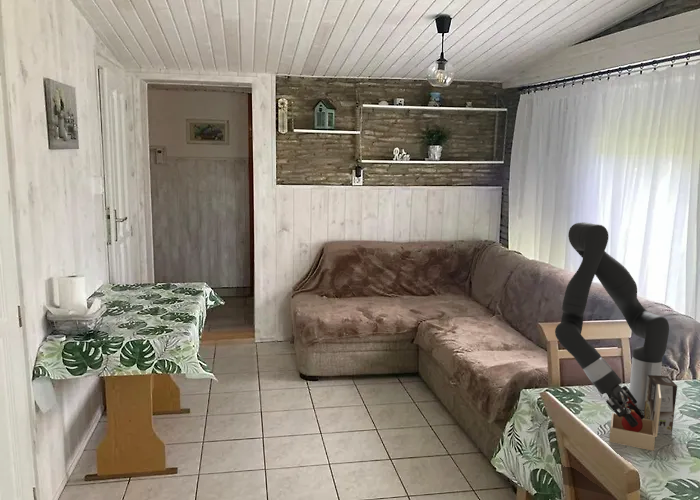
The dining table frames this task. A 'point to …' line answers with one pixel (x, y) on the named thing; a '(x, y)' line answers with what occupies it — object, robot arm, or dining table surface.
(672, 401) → the coffee box
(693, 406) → the dining table surface
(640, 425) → the onion
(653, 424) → the box
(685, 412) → the dining table surface
